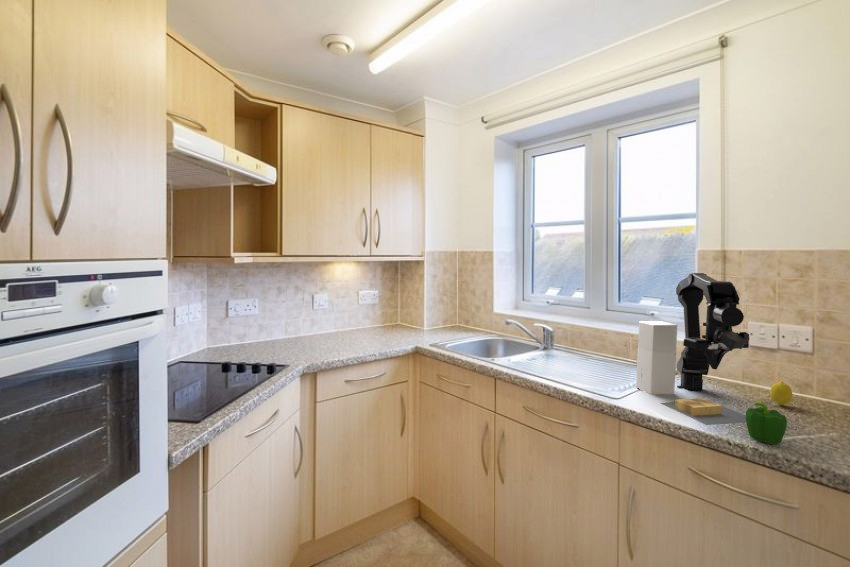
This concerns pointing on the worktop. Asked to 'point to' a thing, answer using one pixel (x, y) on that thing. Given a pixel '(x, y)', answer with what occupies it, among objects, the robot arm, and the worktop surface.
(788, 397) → the lemon
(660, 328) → the tall white carton
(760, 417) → the bell pepper
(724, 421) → the rubber mat
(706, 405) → the ochre block
